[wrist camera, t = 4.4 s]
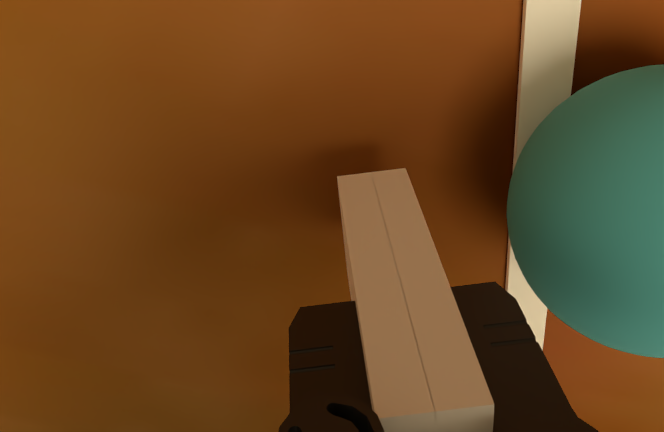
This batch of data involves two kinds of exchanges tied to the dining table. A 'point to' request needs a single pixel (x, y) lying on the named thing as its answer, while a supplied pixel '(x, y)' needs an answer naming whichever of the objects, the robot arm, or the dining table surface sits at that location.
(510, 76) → the dining table surface
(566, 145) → the ball
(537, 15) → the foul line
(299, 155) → the dining table surface
